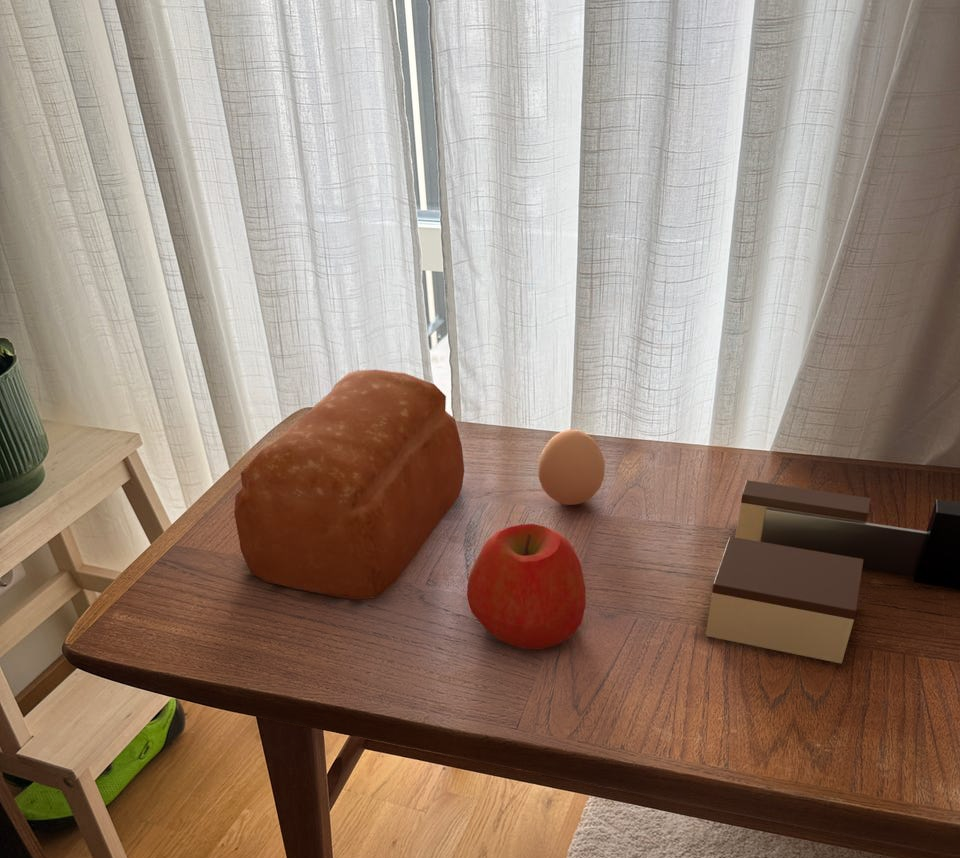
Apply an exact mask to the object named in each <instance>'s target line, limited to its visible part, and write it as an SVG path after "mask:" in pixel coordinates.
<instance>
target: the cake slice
mask: <svg viewBox="0 0 960 858" xmlns="http://www.w3.org/2000/svg"><path fill="white" fill-rule="evenodd" d="M741 494H742V495H741V499H740V507H739V511H738V519H737V525H736V531H735V536H734V537H735V538H741V539H747V540H753V541H759V542H760V540H761V534H762V529H763V524H764V518H765V513H766V508H771V509H778V510H785V511H792V512H798V513H805V514H812V515H819V516H825V517H832V518H839V519H846V520H853V521H859V522H866V523H867V521H868V517H869V513H870V512H869V511H870V505H871V498H870V497H867V496H866V497H864V496H858V495H853V494H845V493H838V492H832V491H825V490H818V489H812V488H811V489H810V488H802V487H797V486H790V485H784V484H783V485H782V484H777V483H770V482H769V483H768V482H764V481H763V482H762V481H756V480H749V479H747V480H746V481H745V484H744V488H743V490H742V493H741Z"/></svg>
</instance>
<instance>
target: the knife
mask: <svg viewBox="0 0 960 858" xmlns="http://www.w3.org/2000/svg"><path fill="white" fill-rule="evenodd" d="M760 542H765V543H770V544H776V545H782V546H788V547H794V548H800V549H806V550H812V551H818V552H823V553H829V554H835V555H841V556H847V557H853V558H859V559H863V568H862V569H867V570H875V571H881V572H885V573H886V572H887V573H894V574H899V575H906V576H911V577H913V582H914V583H918V584H923V585H930V586H936V587H941V588H942V587H943V588H948V589H954V590H955V589H956V590H960V501H954V500H946V499H938V498H936V500H935V502H934V506H933V509H932V512H931V515H930V518H929V521H928V524H927V527H926V530H920V529H913V528H905V527H899V526H892V525H886V524H878V523H872V522H867V521H866V522H859V521H853V520H846V519H839V518H832V517H825V516H819V515H812V514H805V513H798V512H792V511H785V510H778V509H771V508H766V513H765V518H764V524H763V529H762V534H761V540H760Z"/></svg>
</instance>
